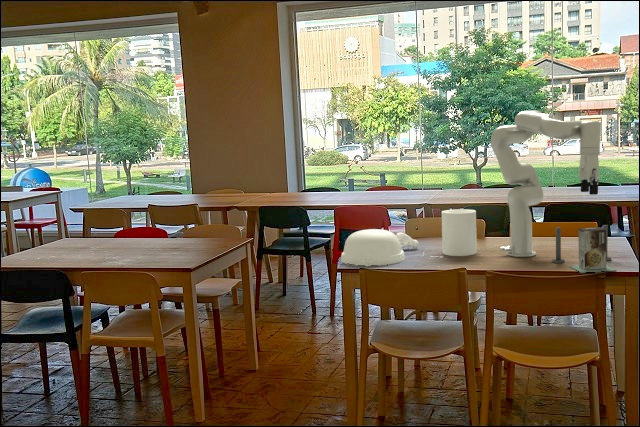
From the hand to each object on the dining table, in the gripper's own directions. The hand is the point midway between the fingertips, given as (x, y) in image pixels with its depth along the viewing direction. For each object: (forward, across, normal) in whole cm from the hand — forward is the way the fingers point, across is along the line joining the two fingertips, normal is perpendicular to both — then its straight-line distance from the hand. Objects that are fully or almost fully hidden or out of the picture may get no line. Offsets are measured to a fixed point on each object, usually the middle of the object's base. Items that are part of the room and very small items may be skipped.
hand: (589, 193), depth 281 cm
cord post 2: (+30, -9, +11) cm, 33 cm away
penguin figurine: (+32, -56, -70) cm, 95 cm away
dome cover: (+32, -34, -88) cm, 100 cm away
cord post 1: (+31, -9, -9) cm, 33 cm away
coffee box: (+30, +8, -1) cm, 31 cm away
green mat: (+30, +8, -1) cm, 31 cm away
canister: (+32, -40, -46) cm, 69 cm away
